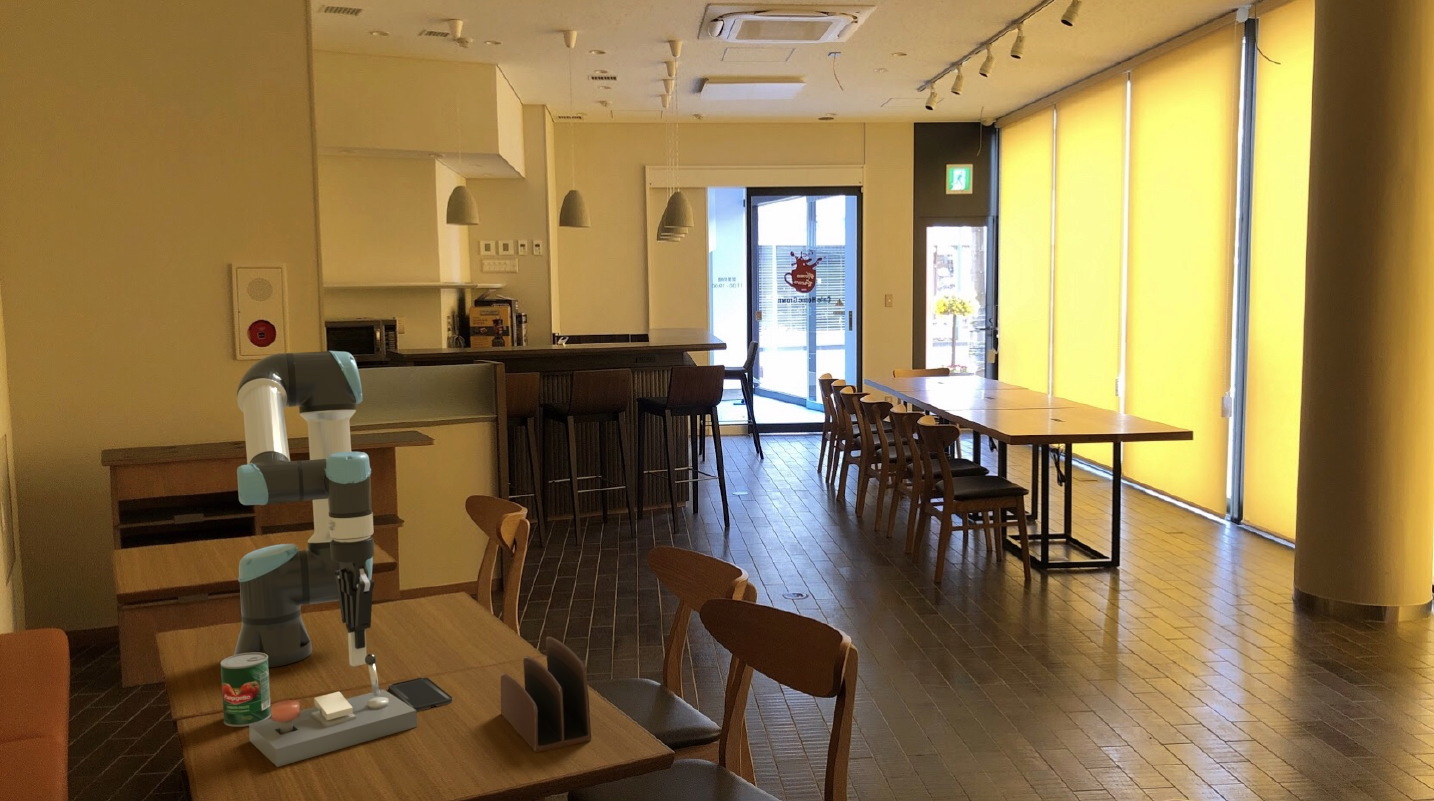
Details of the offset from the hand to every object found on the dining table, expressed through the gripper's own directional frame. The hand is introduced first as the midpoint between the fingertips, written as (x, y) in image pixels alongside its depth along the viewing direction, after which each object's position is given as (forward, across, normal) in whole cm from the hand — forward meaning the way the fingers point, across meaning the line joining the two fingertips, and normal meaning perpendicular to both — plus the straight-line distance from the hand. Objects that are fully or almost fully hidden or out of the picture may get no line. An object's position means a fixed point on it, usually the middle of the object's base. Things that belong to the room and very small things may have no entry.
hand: (358, 663), depth 196 cm
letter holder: (+9, +30, +21) cm, 38 cm away
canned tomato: (+9, -10, -17) cm, 21 cm away
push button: (+6, +8, -16) cm, 19 cm away
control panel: (+9, +8, -8) cm, 14 cm away
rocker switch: (+4, +8, -8) cm, 12 cm away
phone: (+9, +1, +11) cm, 14 cm away
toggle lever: (+4, +8, 0) cm, 9 cm away
